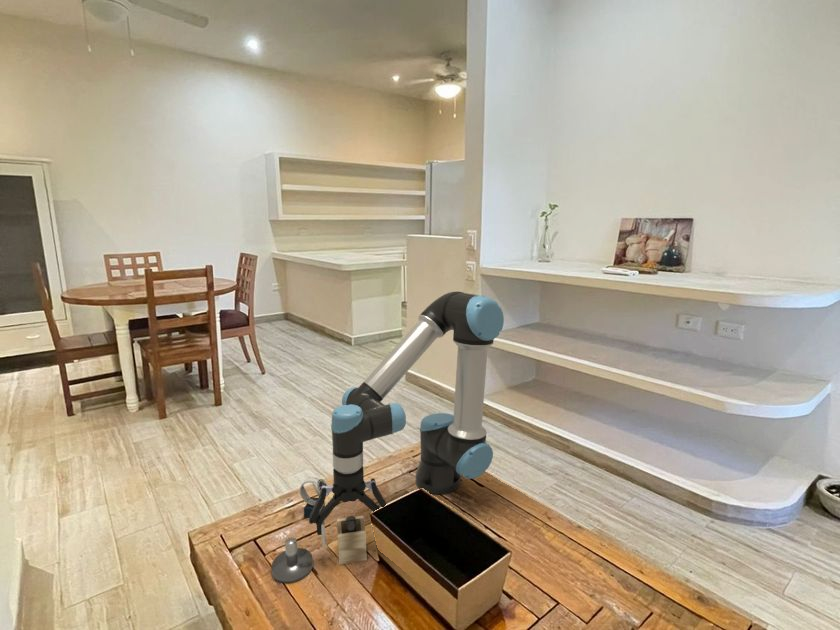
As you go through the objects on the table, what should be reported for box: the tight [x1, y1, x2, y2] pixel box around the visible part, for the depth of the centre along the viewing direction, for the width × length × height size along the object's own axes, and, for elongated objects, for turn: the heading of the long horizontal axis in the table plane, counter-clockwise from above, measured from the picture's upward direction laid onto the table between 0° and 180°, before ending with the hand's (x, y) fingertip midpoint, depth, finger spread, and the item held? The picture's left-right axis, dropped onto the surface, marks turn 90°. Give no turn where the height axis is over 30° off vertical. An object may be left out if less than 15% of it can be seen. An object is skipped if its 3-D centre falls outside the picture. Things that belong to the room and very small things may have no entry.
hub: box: [270, 537, 314, 584], centre depth 110 cm, size 10×10×8 cm
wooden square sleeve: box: [336, 514, 368, 565], centre depth 115 cm, size 7×7×8 cm
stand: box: [345, 515, 356, 533], centre depth 115 cm, size 4×4×10 cm
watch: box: [299, 477, 328, 519], centre depth 131 cm, size 6×8×11 cm
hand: (350, 540), depth 115 cm, fingers open, 13 cm apart
